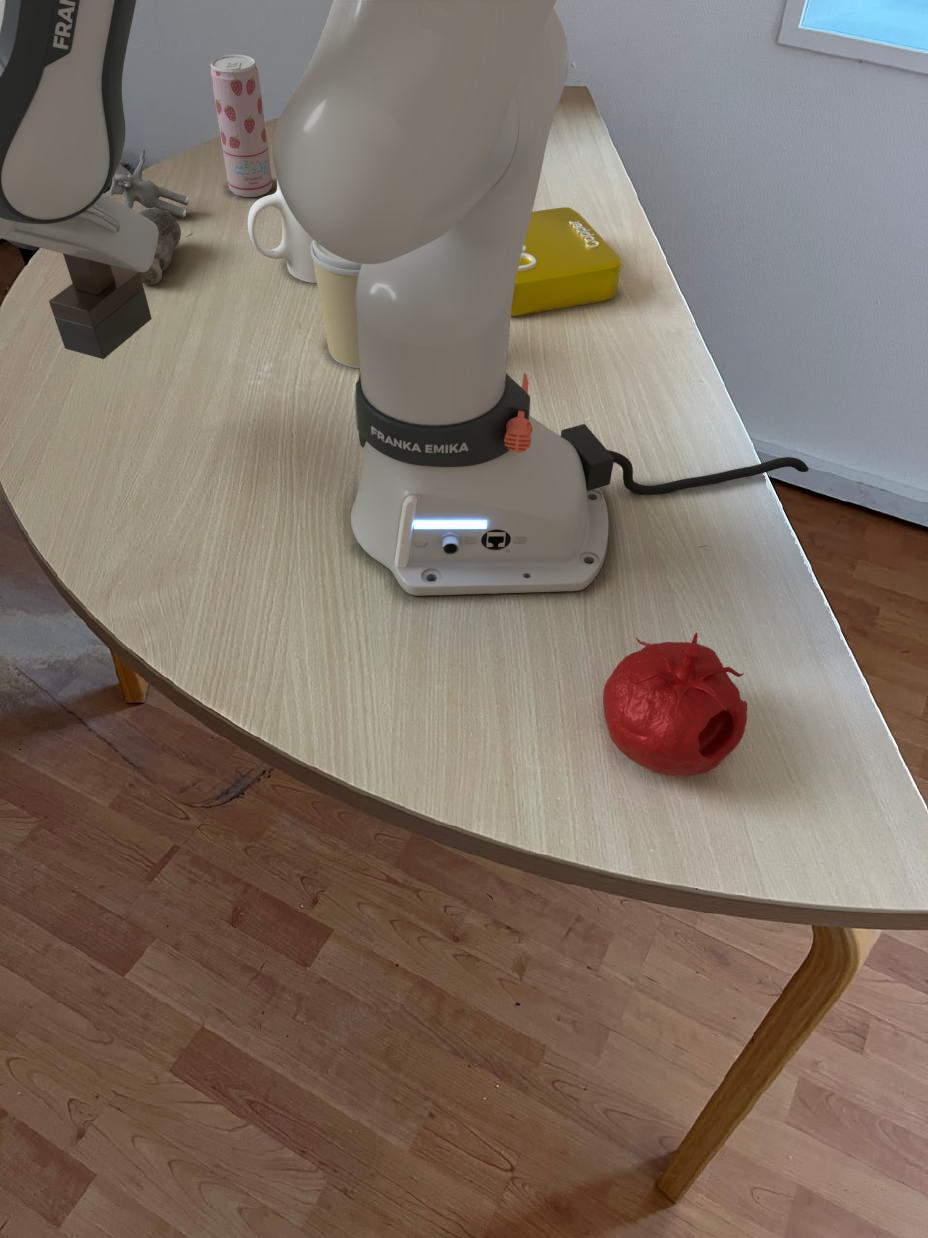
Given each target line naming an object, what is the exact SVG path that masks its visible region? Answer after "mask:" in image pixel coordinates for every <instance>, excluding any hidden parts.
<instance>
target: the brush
mask: <svg viewBox="0 0 928 1238" xmlns="http://www.w3.org/2000/svg"><path fill="white" fill-rule="evenodd" d="M62 256H63V258H64V262H65V264H66V267H67V270H68V273H69V274H68V275H69V277H70V280H71V284H70V285H68V286H67V287H65V288H64V289H63V290H61V291H60V292H59V293H57V294H56V295H55V296H54V297H52V298H51V299H49V300H48V303H49V306H50V309H51V311H52V312H51V313H52V315H53V317H54V321H55V323H56V326H57V330H58V333H59V335H60V338H61V341H62V344H63V347H64V349H65V350H68V351H71V352H76V353H78V354H79V353H80V354H83V355H87V356H90V357H93V358H97V359H101V360H105V359H106V358H107V357H108V356H110V355H111V354H112V353H113V352H114V351H116V350H117V349H118V348H119V347H120V346H122V345H123V344H124V343H125V342H127V340H129V339H130V338H131V337H132V336H134V335H135V334H136V333H137V332H138V331H139V330H141V329H142V328H143V327H144V326H145V325H146V324H148V323H149V322H150V321H151V320H152V314H151V310H150V307H149V302H148V298H147V295H146V292H145V288H144V283H142V279H141V276H140V272H137V271H133V270H129V269H125V268H121V267H117V266H113V265H109V264H104V263H100V262H96V261H92V260H88V259H84V258H80V257H76V256H72V255H68V254H64V253H62Z"/></svg>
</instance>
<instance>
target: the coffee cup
mask: <svg viewBox="0 0 928 1238" xmlns="http://www.w3.org/2000/svg"><path fill="white" fill-rule="evenodd" d="M311 255H312V258H313V260H314V268H315V274H316V280H317V283H316V286H317V292H318V297H319V303H320V309H321V315H322V321H323V326H324V332H325V339H326V343H327V347H328V352H329V354H330V356H331V357H332V358H333V360H335V361H336V362H337V363H338V364H340V365H342V366H345V367H348V368H353V369H359V370H360V360H359V344H358V329H357V313H356V287H357V281H358V276H359V272H360V269H361V266H362V264H361V263H355V262H352V261H348V260H346V259H343V258H341V257H338V256H337V255H335V254H333V253H331V252H329V251H328V250H326V249H325V248H324V247H322V246H321V245H320V244H318V243H317V242H316V241H315V240H314V239H313V241H312V244H311Z"/></svg>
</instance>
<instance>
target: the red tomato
mask: <svg viewBox="0 0 928 1238" xmlns="http://www.w3.org/2000/svg"><path fill="white" fill-rule="evenodd" d="M635 639H636V641H637V643H638V644H640V645H642V646H644V647H642V648H641V649H640V650H638V651H635V652H632V653H630V654H628V655H626V656H625V657H624V658H622V660H621V661H619V662H618V664H617V665H616V667H615V668H614V669H613V671H612V672H611V674H610V676H608V678H607V680H606V681H605V684H604V688H603V692H602V707H603V713H604V719H605V723H606V727H607V731H608V733H609V737H610V740H611V742H612V743H613V744H614V745H615V746H616V748H617V749H618V750H619V751H620V752H621V753H622V754H623V755H624V756H626V757H627V758H628V759H629V760H631V761H632V762H634V763H635V764H638V766H641V767H642V768H644V769H646V770H649V771H651V772H654V773H656V774H659V775H663V776H671V777H672V776H673V777H690V776H695V775H703V774H705V773H708V772H710V771H712V770H713V769H714V768H717V767H718V766H719V765H720V764H722V761H724V759H725V758H727V756H729V755H730V754H731V753H732V752H734V750H736V748H737V747H738V745H739V744H740V742H741V740H742V738H743V737H744V735H745V732H746V726H747V721H748V703H747V701H746V700H742V699H741V692H740V690H739V688H738V686H737V685H736V684H735V683H734V682H733V681H732V679H731V677H730V676H729V674H728V673H730V674H732V675H733V676H735V677H737V678H741V677H743V676H744V673H739V672H737V671H736V670H735V669H734V668H732V667H731V666H724V665H723V663H722V662H721V660H720V658H719V656H718V655H717V653H716V651H715V650H713V649H712V648H710V647H709V646H708V647H707V646H705V645H702V644H699V643H698V642H697V641H698V632H695V633H694V635H693V637H692V640H691V642H688V641H685V642H684V641H683V642H682V641H677V642H676V641H665V642H664V641H663V642H658V643H649V642H645V641H641V640H640V639H639V638H638V637H635Z"/></svg>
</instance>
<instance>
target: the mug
mask: <svg viewBox="0 0 928 1238" xmlns="http://www.w3.org/2000/svg"><path fill="white" fill-rule="evenodd" d="M271 207H272V208H276V209H277V210H278V213H279V215H280V220H281V232H282V235H281V240H280V243H279V245H278V246H277V247H275V248H266V247H264V246H262V245H261V244H260V243H259V241H258V239H257V235H256V221H257V218H258V216H259V214H260V213H261V212H262V211H264V210H265V209H268V208H271ZM247 231H248V236H249V238H250V241H251V242H252V243H251V244H252V245H253V246H254V248H255V249H256V250H257V251H258V252H259V253H260V254H261V255H263V256H264V257H267V258H270V259H273V260H283V259H284V260H286V265H287V270H288V272H289V274H290V275H291V276H292V277H294V278H295V279H297V280H300V281H303V282H305V283H306V282H307V283H311V284H317V280H316V274H315V268H314V260H313V258H312V255H311V244H312V241H313V238H312V237H311V236H310V235H309V234H308V233H307V232H306V231H305V230H304V229H303V228H302V226H301V225H300V224H299V223H298V221H297V220H296V219H295V217H294V215H293V214H292V212H291V211H290V209H289V207H288V205H287V203H286V201H285V199H284V197H283V195H282V192H281V190H280V187H279V184H278V180H277V179H276V191H275V192H274V193H273V194H269V195H265V196H263V197H260V198H259V199H257V200H256V201H255V202H254V203H253V204H252V206H251V207H250V209H249V212H248V215H247Z"/></svg>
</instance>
